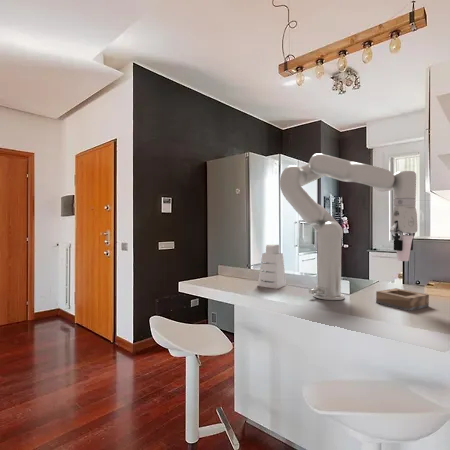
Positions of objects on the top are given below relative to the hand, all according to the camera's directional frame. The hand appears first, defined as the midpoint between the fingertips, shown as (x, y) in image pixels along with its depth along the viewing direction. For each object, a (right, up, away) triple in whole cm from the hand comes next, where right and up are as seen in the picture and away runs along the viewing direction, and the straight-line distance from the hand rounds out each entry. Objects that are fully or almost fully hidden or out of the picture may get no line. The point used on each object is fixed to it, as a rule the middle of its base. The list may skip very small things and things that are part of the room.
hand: (403, 249), depth 126 cm
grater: (-46, -20, +34) cm, 60 cm away
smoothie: (0, -4, 0) cm, 4 cm away
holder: (0, -21, 0) cm, 21 cm away
